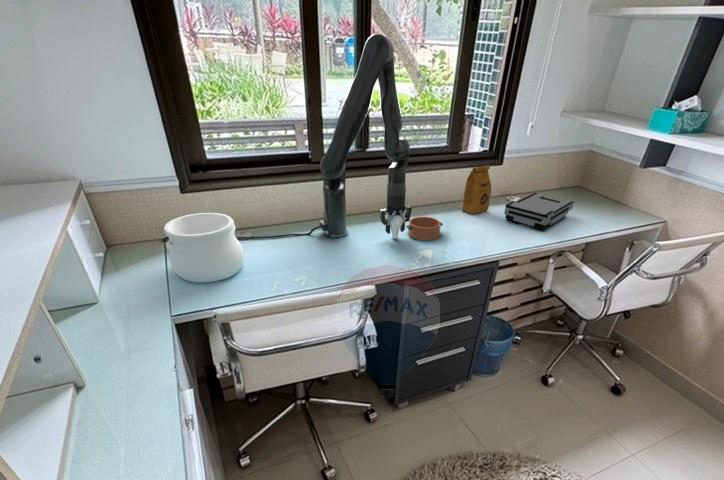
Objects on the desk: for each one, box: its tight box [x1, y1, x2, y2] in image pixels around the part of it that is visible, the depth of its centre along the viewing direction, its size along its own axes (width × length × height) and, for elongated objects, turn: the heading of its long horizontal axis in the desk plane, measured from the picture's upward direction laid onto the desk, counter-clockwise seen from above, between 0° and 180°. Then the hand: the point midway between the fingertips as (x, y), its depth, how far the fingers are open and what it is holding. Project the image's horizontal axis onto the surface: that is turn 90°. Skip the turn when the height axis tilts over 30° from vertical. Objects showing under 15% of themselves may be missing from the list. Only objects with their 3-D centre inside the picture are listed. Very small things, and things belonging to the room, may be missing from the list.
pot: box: [163, 212, 245, 283], centre depth 143 cm, size 26×24×18 cm
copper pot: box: [405, 216, 444, 241], centre depth 179 cm, size 16×14×6 cm
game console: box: [503, 192, 575, 232], centre depth 197 cm, size 21×32×8 cm, turn 138°
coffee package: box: [461, 164, 492, 215], centre depth 200 cm, size 10×12×22 cm
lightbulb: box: [390, 215, 403, 240], centre depth 172 cm, size 6×6×11 cm
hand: (395, 232), depth 173 cm, fingers closed on lightbulb, 5 cm apart
